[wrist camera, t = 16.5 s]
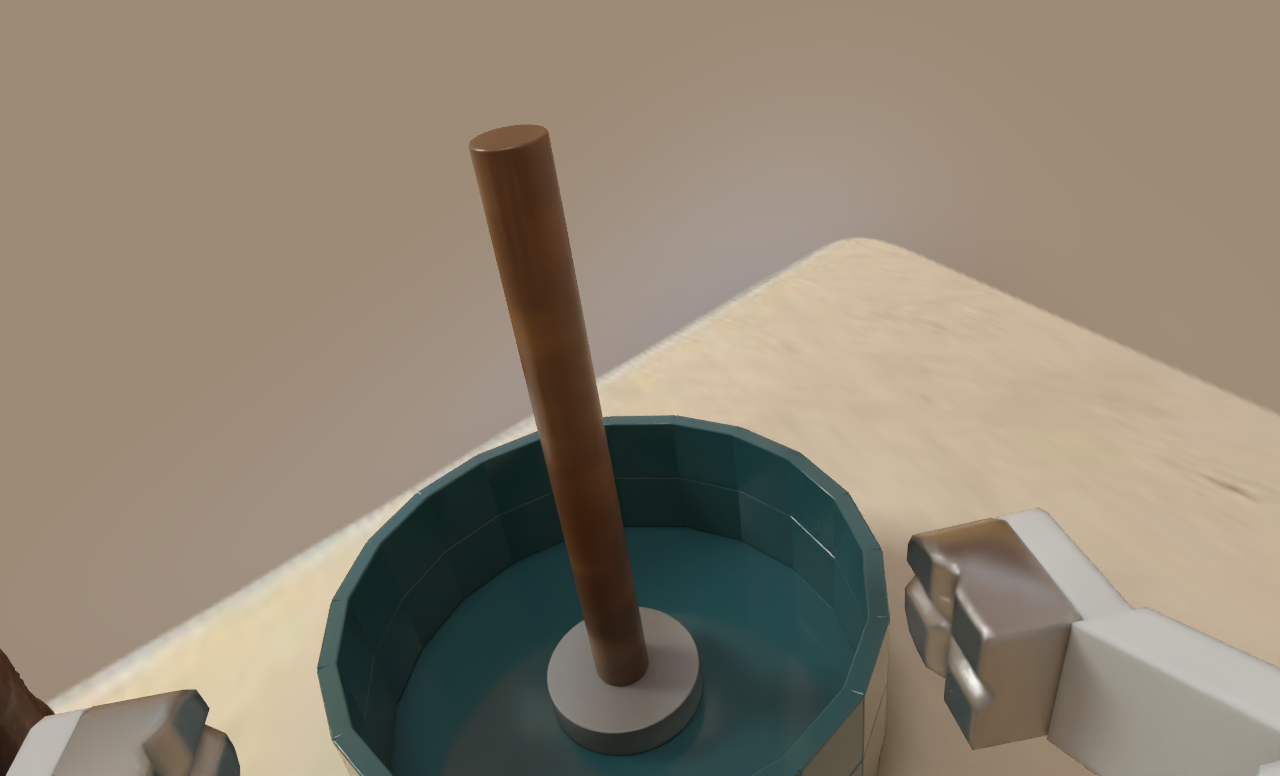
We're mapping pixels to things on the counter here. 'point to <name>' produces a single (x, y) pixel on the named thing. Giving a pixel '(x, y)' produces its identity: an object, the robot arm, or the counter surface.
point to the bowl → (664, 580)
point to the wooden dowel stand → (579, 469)
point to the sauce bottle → (16, 713)
